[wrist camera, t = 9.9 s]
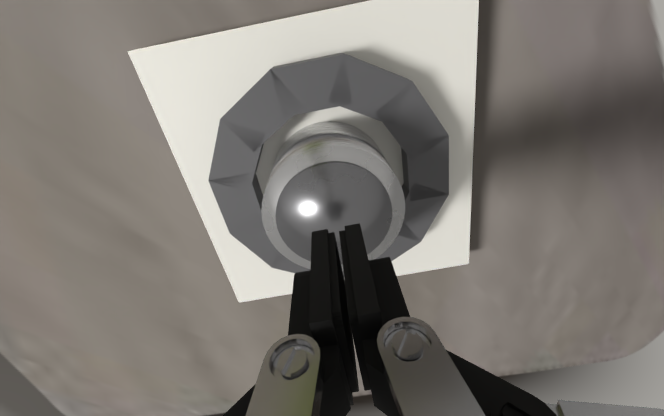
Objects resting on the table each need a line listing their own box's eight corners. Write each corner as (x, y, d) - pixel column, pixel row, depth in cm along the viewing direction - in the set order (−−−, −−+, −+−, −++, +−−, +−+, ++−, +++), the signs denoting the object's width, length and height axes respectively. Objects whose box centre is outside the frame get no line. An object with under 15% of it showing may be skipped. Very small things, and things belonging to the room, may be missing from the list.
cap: (259, 132, 15) (241, 162, 12) (380, 111, 15) (402, 134, 12) (287, 234, 18) (280, 284, 15) (390, 217, 18) (410, 264, 14)
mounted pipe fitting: (141, 50, 15) (111, 52, 12) (467, -19, 14) (494, -28, 12) (242, 289, 22) (234, 316, 20) (461, 252, 21) (477, 276, 19)
